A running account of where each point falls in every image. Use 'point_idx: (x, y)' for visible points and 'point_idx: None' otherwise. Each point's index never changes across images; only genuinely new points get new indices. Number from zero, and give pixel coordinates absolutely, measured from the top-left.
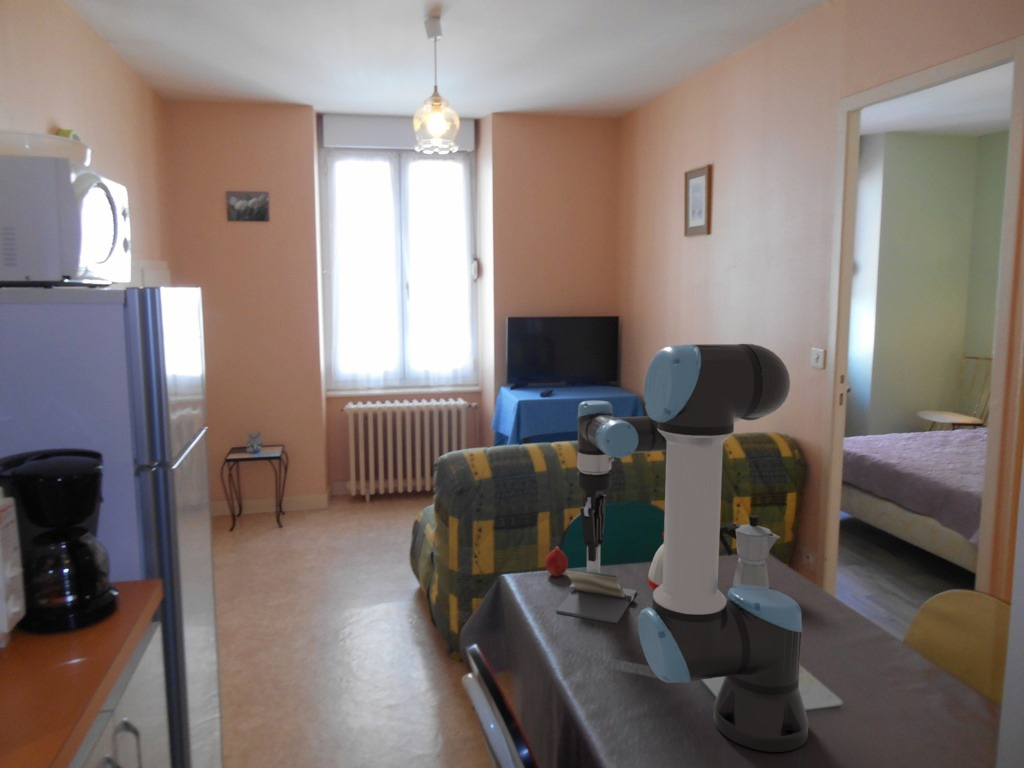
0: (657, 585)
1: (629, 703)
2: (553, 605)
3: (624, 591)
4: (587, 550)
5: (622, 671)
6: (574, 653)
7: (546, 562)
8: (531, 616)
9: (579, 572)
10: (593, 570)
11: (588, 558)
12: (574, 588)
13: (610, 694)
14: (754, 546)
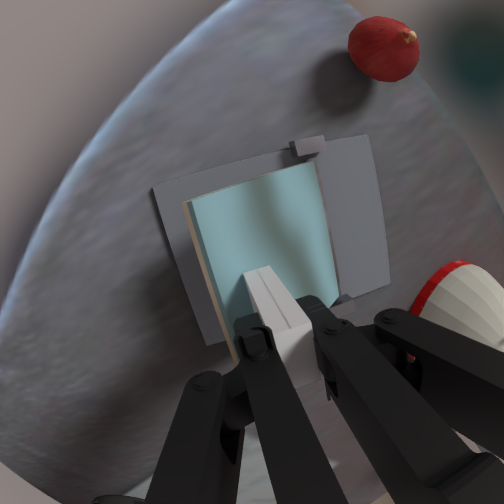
0: (419, 312)
1: (30, 441)
2: (191, 148)
3: (373, 265)
4: (263, 322)
5: (67, 419)
6: (38, 339)
7: (359, 24)
8: (94, 148)
9: (204, 265)
10: (253, 306)
11: (233, 327)
12: (299, 155)
13: (21, 421)
14: (482, 447)
